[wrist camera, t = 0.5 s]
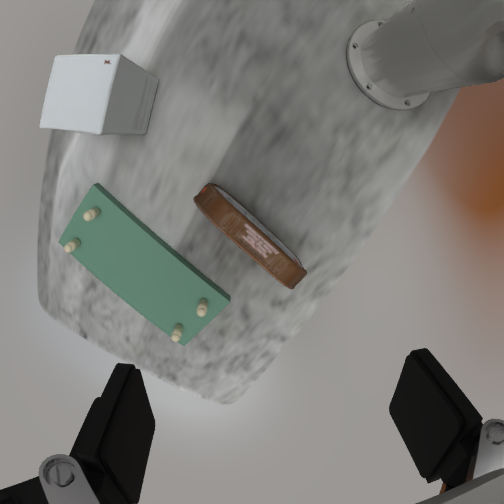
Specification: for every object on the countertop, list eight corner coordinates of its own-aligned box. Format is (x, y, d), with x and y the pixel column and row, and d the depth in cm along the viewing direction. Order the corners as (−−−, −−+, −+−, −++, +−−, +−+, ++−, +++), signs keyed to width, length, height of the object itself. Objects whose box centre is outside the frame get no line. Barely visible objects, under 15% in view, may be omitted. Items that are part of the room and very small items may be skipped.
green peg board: (98, 183, 35) (80, 188, 31) (230, 296, 41) (229, 314, 37) (63, 238, 38) (46, 249, 33) (185, 340, 43) (180, 360, 39)
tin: (197, 193, 36) (184, 207, 29) (215, 174, 36) (206, 182, 28) (286, 272, 40) (295, 304, 32) (303, 255, 39) (317, 284, 31)
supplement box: (107, 74, 31) (55, 52, 19) (160, 79, 31) (122, 52, 20) (94, 129, 33) (36, 128, 21) (146, 137, 34) (101, 135, 22)
